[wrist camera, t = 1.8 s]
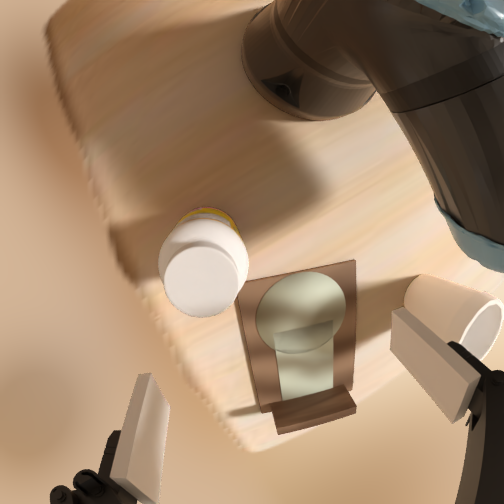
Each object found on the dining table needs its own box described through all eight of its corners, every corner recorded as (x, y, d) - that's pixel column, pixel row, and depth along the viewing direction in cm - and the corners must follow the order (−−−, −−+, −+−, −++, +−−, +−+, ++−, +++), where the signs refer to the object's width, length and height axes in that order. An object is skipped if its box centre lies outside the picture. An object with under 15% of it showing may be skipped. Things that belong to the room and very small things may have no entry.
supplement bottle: (229, 274, 31) (239, 341, 18) (169, 260, 29) (140, 319, 17) (246, 214, 29) (269, 246, 17) (183, 198, 28) (158, 218, 16)
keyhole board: (235, 283, 31) (239, 305, 26) (354, 259, 32) (376, 275, 27) (261, 411, 37) (267, 438, 32) (351, 388, 38) (365, 411, 33)
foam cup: (388, 327, 36) (442, 381, 23) (402, 263, 33) (471, 305, 21) (434, 319, 37) (487, 361, 24) (448, 262, 34) (512, 295, 22)
